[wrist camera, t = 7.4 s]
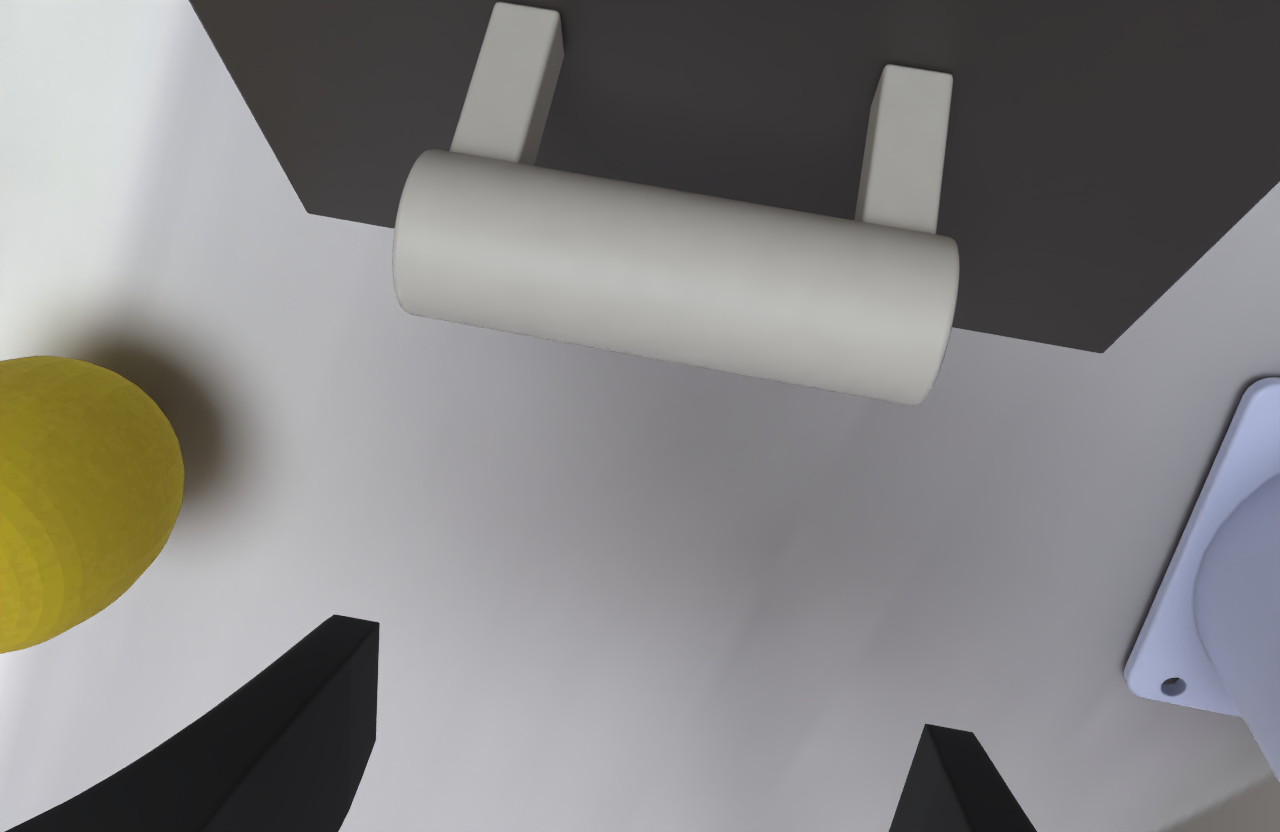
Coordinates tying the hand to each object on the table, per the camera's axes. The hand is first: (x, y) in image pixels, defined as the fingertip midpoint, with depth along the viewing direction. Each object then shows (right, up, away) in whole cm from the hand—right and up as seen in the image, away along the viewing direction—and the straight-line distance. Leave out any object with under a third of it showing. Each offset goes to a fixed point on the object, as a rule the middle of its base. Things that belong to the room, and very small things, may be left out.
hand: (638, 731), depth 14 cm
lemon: (-12, +4, +12) cm, 17 cm away
